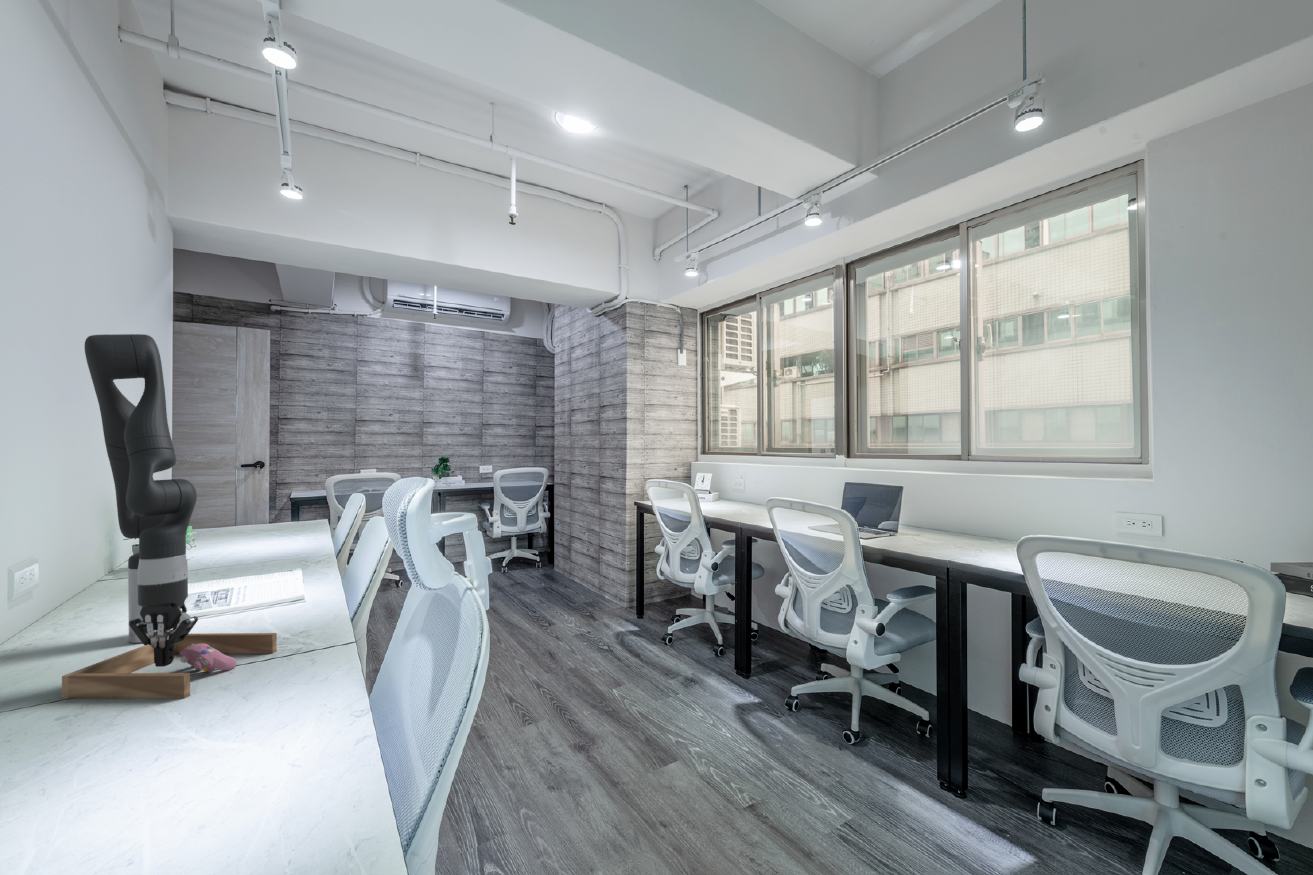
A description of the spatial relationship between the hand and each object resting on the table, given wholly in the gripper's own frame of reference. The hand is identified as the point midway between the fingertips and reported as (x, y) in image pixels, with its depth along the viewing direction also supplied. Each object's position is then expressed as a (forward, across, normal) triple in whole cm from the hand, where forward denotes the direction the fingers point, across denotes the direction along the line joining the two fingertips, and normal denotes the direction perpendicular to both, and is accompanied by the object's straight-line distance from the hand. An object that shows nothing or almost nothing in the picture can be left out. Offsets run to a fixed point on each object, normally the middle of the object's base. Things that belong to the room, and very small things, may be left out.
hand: (163, 665), depth 110 cm
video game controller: (+2, -8, -1) cm, 8 cm away
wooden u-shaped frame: (+2, -3, 0) cm, 3 cm away
